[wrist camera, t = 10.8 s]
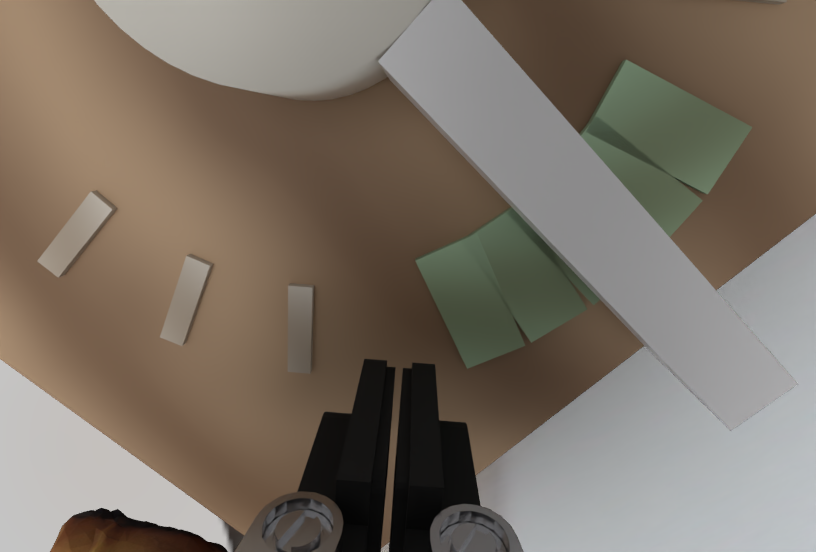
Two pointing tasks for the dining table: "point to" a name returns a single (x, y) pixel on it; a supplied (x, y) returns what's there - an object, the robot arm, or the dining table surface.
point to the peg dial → (482, 155)
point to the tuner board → (360, 228)
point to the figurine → (125, 535)
